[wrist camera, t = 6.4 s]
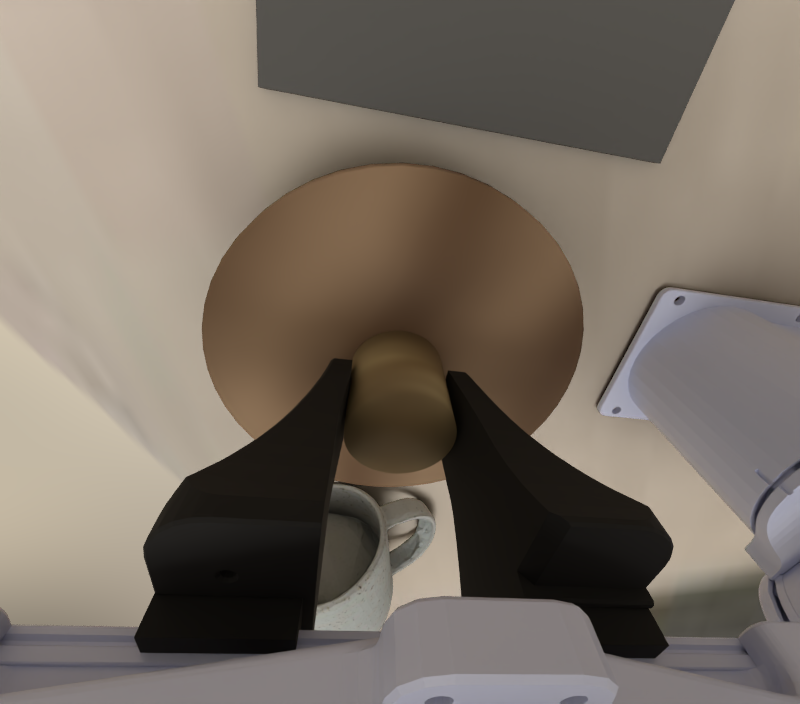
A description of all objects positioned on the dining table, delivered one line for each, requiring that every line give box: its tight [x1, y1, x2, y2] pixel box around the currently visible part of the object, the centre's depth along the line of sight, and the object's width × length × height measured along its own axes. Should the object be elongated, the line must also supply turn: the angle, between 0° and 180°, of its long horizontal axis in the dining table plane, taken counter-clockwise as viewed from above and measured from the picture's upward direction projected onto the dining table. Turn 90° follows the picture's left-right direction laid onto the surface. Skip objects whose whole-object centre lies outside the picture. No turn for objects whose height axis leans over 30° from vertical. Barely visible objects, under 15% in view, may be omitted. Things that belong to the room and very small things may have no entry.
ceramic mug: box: [314, 484, 436, 631], centre depth 24 cm, size 11×8×8 cm
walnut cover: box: [202, 163, 584, 487], centre depth 12 cm, size 13×13×4 cm
